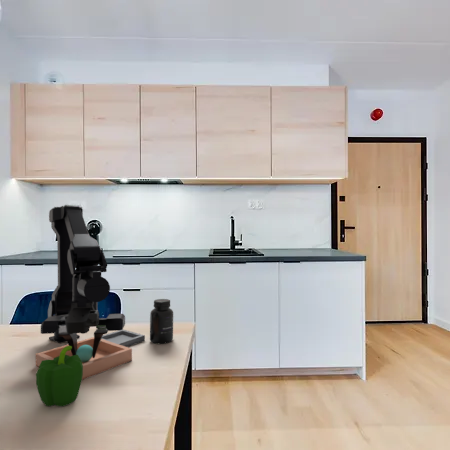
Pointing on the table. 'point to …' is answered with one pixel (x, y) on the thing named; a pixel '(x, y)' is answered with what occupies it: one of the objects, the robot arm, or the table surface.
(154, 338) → the supplement bottle
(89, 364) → the dish
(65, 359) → the bell pepper
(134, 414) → the table surface
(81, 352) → the ball
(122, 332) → the tray
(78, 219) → the robot arm
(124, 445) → the table surface
